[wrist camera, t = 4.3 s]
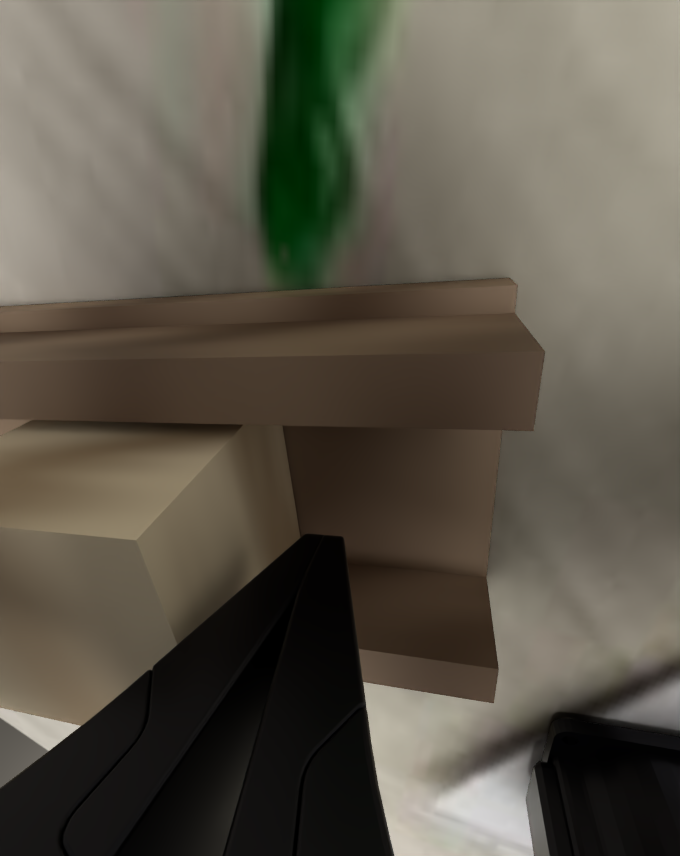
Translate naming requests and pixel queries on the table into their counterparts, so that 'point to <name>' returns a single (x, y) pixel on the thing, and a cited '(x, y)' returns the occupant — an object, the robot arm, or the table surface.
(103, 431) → the maple block
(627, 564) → the table surface
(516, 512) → the table surface
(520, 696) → the table surface
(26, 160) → the table surface
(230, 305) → the walnut chute
